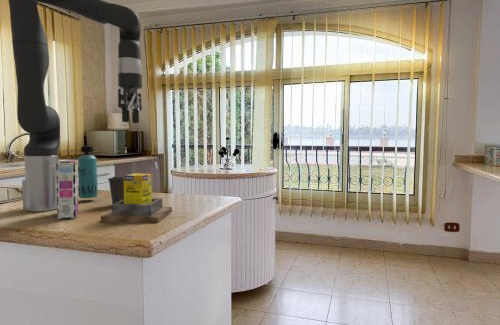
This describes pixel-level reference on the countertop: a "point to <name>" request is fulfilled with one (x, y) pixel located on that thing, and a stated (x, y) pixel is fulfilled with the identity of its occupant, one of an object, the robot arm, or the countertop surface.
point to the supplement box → (137, 189)
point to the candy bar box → (67, 189)
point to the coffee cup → (117, 188)
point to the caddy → (137, 212)
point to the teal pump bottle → (87, 174)
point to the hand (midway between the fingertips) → (130, 122)
